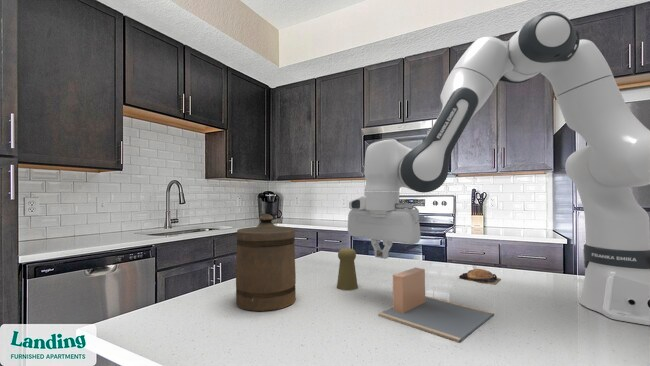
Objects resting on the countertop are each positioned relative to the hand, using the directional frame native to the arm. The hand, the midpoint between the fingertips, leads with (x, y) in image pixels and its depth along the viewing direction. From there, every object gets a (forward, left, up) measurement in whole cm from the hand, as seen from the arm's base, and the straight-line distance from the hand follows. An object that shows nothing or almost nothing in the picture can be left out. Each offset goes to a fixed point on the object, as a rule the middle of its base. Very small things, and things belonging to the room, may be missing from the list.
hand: (381, 257), depth 81 cm
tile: (-8, 0, -10) cm, 13 cm away
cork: (+14, -2, -11) cm, 18 cm away
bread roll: (-10, -37, -11) cm, 40 cm away
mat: (-14, 0, -11) cm, 18 cm away
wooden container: (+21, +21, -11) cm, 31 cm away
